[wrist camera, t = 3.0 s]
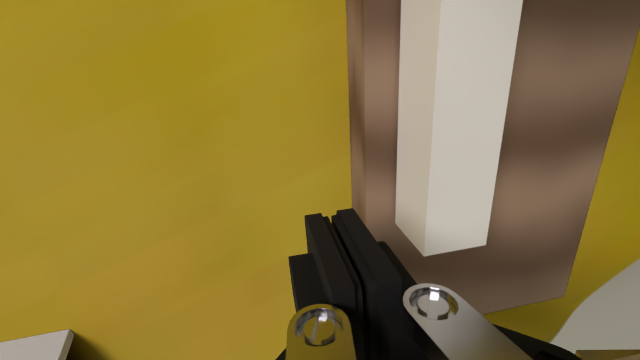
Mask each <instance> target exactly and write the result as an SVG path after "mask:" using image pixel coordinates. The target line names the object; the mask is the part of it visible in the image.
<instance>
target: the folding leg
mask: <svg viewBox="0 0 640 360" xmlns="http://www.w3.org/2000/svg"><path fill="white" fill-rule="evenodd" d="M522 4H523V0H401V24H400V62H399V100H398V138H397V176H396V214H395V224H396V225H397V226H398V227H399V228H400V229H401V231H402V232H403V233H404V234H405V235H406V236H407V238H408V239H409V240H410V241H411V242H412V243H413V245H414V246H415V247H416V248H417V249H418V250H419V252H420V253H421V254H422V255H423V256H429V255H435V254H440V253H446V252H451V251H457V250H462V249H467V248H473V247H478V246H484V245H486V241H487V235H488V228H489V221H490V215H491V208H492V202H493V195H494V188H495V182H496V175H497V169H498V162H499V156H500V149H501V142H502V136H503V129H504V123H505V116H506V109H507V103H508V96H509V90H510V83H511V77H512V70H513V63H514V57H515V50H516V44H517V37H518V30H519V24H520V17H521V11H522Z"/></svg>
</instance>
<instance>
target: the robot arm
mask: <svg viewBox="0 0 640 360" xmlns="http://www.w3.org/2000/svg"><path fill="white" fill-rule="evenodd" d="M305 227H306V237H307V247H308V254H302V255H296V256H290V257H289V266H290V274H291V282H292V289H293V296H294V302H295V308H296V314H294V316H293V317H292V319H291V320H290V322H289V325H288V330H287V345H286V349H285V350H284V351H283V352H282V353H281V354H280V355H279V356H278V358H277V359H276V360H640V350H577V351H576V353H575V354H573V353H571V352H570V351H567V350H565V349H563V348H561V347H558V346H556V345H553V344H550V343H547V342H544V341H541V340H538V339H535V338H533V337H530V336H527V335H524V334H521V333H518V332H515V331H512V330H509V329H506V328H503V327H500V326H497V325H494V324H492V323H490V322H489V321H488V320H487V319H485V318H484V317H483V316H482V315H481V314H480V313H479V312H477V311H476V310H475V309H474V308H473V307H472V306H470V305H469V304H468V303H467V302H466V301H465V300H464V299H462V298H461V297H460V296H459V295H458V294H456V293H455V292H453V291H452V290H451V289H448V288H446V287H444V286H441V285H436V284H428V283H423V284H417V283H416V282H415V280H414V279H413V278H412V276H411V275H410V274H409V272H408V271H407V270H406V268H405V267H404V266H403V264H402V263H401V262H400V260H399V259H398V258H397V256H396V255H395V254H394V252H393V251H392V250H391V248H390V247H389V246H388V244H387V243H386V242H385V241H378V242H377V241H376V240H375V238H374V237H373V236H372V234H371V233H370V231H369V230H368V228H367V227H366V226H365V224H364V223H363V221H362V220H361V218H360V217H359V216H358V214H357V213H356V211H355V210H354V209H353V208H351V209H345V210H338V211H337V214H336V215H333V216H332V224H331V222H330V220H329V218H328V216H326V217H323V216H322V214H321V213H318V214H311V215H305Z"/></svg>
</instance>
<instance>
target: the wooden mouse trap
mask: <svg viewBox="0 0 640 360" xmlns="http://www.w3.org/2000/svg"><path fill="white" fill-rule="evenodd" d="M346 12H347V45H348V78H349V111H350V144H351V177H352V208H353V209H354V210H355V211H356V213H357V214H358V216H359V217H360V218H361V220H362V221H363V223H364V224H365V226H366V227H367V228H368V230H369V231H370V233H371V234H372V236H373V237H374V238H375V240H376V241H377V242H378V241H385V242H386V243H387V244H388V246H389V247H390V248H391V250H392V251H393V252H394V254H395V255H396V256H397V258H398V259H399V260H400V262H401V263H402V264H403V266H404V267H405V268H406V270H407V271H408V272H409V274H410V275H411V276H412V278H413V279H414V280H415V282H416V283H417V284H423V283H428V284H436V285H441V286H444V287H446V288H448V289H451V290H452V291H453V292H455V293H456V294H458V295H459V296H460V297H461V298H462V299H464V300H465V301H466V302H467V303H468V304H469V305H470V306H472V307H473V308H474V309H475V310H476V311H477V312H479V313H480V314H481V315H483V314H488V313H492V312H497V311H501V310H506V309H510V308H515V307H519V306H524V305H528V304H533V303H537V302H542V301H546V300H551V299H555V298H560V297H564V296H565V292H566V288H567V285H568V281H569V278H570V274H571V271H572V267H573V263H574V260H575V256H576V253H577V249H578V245H579V242H580V238H581V235H582V231H583V228H584V224H585V220H586V217H587V213H588V210H589V206H590V203H591V199H592V195H593V192H594V188H595V185H596V181H597V177H598V174H599V170H600V167H601V163H602V160H603V156H604V152H605V149H606V145H607V142H608V138H609V135H610V131H611V127H612V124H613V120H614V117H615V113H616V110H617V106H618V102H619V99H620V95H621V92H622V88H623V84H624V81H625V77H626V74H627V70H628V67H629V63H630V59H631V56H632V52H633V49H634V45H635V42H636V38H637V34H638V31H639V27H640V0H523V4H522V11H521V17H520V24H519V30H518V37H517V44H516V50H515V57H514V63H513V70H512V77H511V83H510V90H509V96H508V103H507V109H506V116H505V123H504V129H503V136H502V142H501V149H500V156H499V162H498V169H497V175H496V182H495V188H494V195H493V202H492V208H491V215H490V221H489V228H488V235H487V241H486V245H484V246H478V247H473V248H467V249H462V250H457V251H451V252H446V253H440V254H435V255H429V256H423V255H422V254H421V253H420V252H419V250H418V249H417V248H416V247H415V246H414V245H413V243H412V242H411V241H410V240H409V239H408V238H407V236H406V235H405V234H404V233H403V232H402V231H401V229H400V228H399V227H398V226H397V225H396V224H395V214H396V176H397V138H398V100H399V62H400V24H401V0H346Z"/></svg>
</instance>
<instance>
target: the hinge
mask: <svg viewBox="0 0 640 360" xmlns="http://www.w3.org/2000/svg"><path fill="white" fill-rule="evenodd" d="M73 337H74V334H73V333H72V331H71V330H70V329H68V330H63V331H58V332H52V333H47V334H42V335H37V336H32V337H26V338H21V339H16V340H11V341H6V342H0V360H66V357H67V354H68V352H69V349H70V346H71V343H72V340H73Z"/></svg>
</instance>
